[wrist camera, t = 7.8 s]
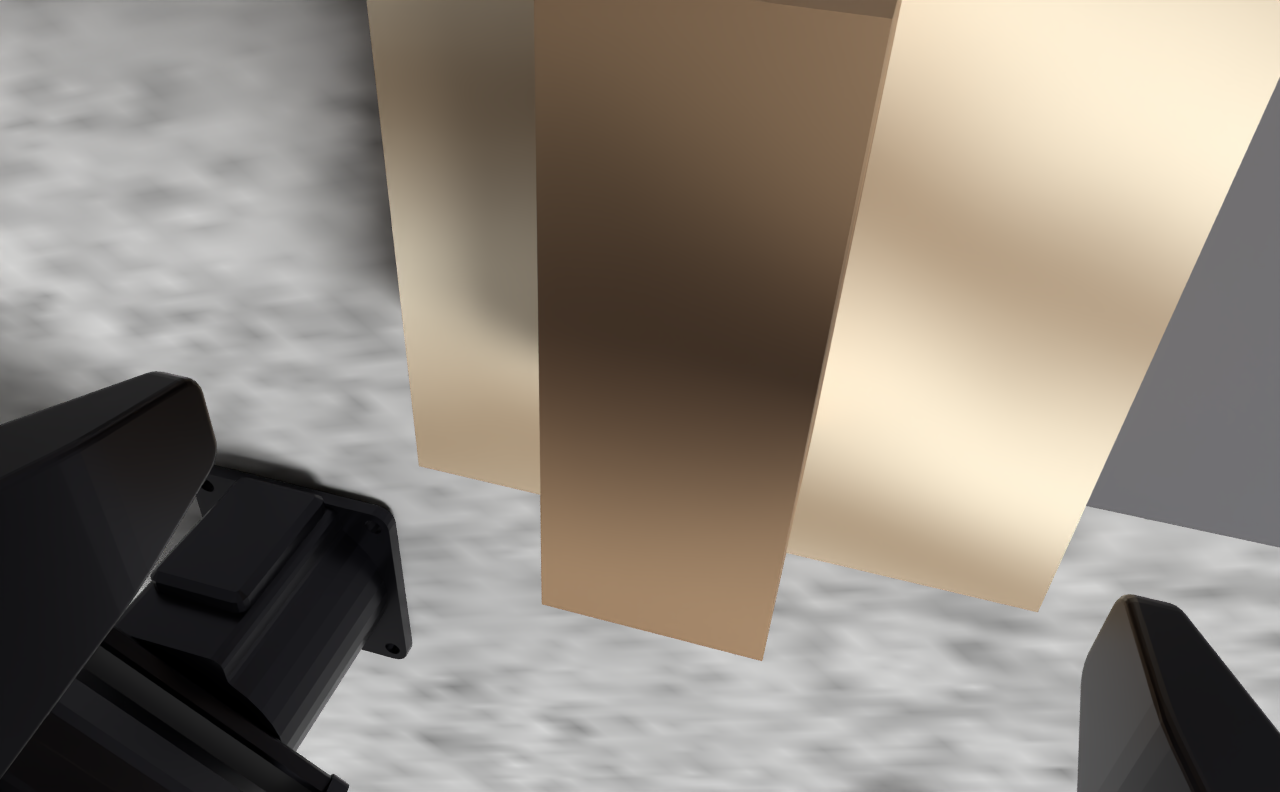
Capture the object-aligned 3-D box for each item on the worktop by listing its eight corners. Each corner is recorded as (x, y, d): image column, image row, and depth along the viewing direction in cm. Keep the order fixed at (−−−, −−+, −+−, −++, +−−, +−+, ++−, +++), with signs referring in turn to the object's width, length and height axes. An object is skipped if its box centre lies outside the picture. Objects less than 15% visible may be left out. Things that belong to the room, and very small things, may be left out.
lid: (1035, 572, 18) (1055, 881, 13) (440, 436, 20) (280, 660, 16) (1455, -397, 10) (1899, -467, 5) (357, -448, 12) (-43, -530, 7)
